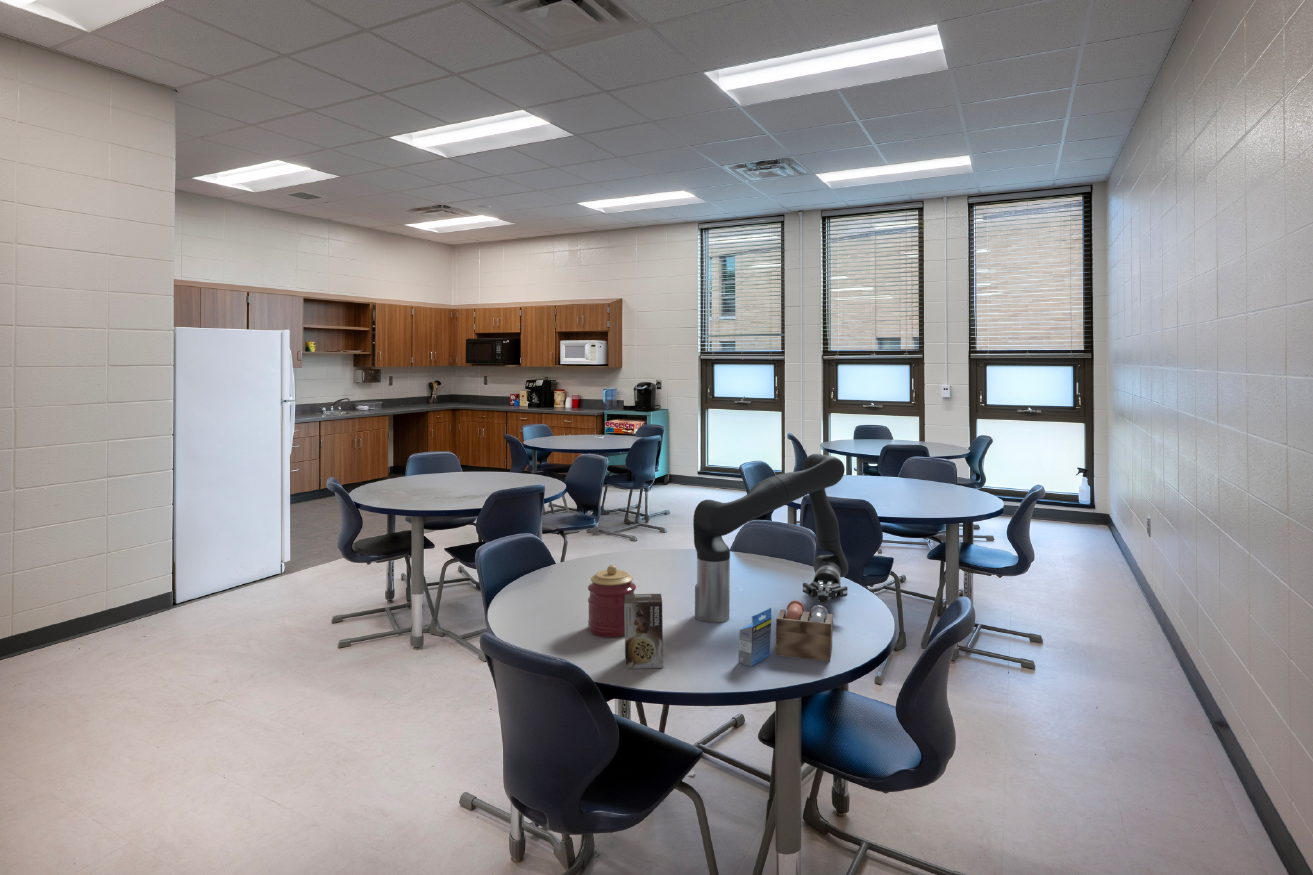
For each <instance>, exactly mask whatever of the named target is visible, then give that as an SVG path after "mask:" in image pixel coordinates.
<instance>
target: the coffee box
mask: <svg viewBox="0 0 1313 875" xmlns="http://www.w3.org/2000/svg"><path fill="white" fill-rule="evenodd" d="M624 618H625V636H624V663H625V664H624V669H625V670H627V669H628V670H630V669H632V670H633V669H657V668H658V669H663V668H664V641H663V638H664V637H663V632H664V631H663V622H664V620H663V598H662V593H634V594H626V595H625V597H624Z"/></svg>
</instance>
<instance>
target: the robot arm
mask: <svg viewBox="0 0 1313 875" xmlns="http://www.w3.org/2000/svg"><path fill="white" fill-rule="evenodd" d="M845 469H846V468H845V465H844V463H843V461H842V460H841V459H840V458H838V457H836V456H833V455H829V454H828V455H827V454H823V453H822V454H820V453H812V454H810V455H808V456H807V457H806V459H805V461H804V463H803V470H799V471H791V472H785V473H779V474H776V475H772V476H770V477H767V478H765V479H763V480H760V481H758V482H757V483H756V484H754V485H753V486H752V487H751V489H749V491H748V492H747V494H746V495H744V496H742V497H740V498H737V499H735V500H732V501H728V502H722V501H717V500H714V499H704V500H702V501H700V502H699V503H698V504H697V506H696V507H695V510H694V513H693V518H692V519H693V523H692V524H693V527H692V528H693V543H694V544H693V545H694V548H695V551H696V584H695V585H694V619H695V620H699V621H701V622H706V623H712V624H713V623H723V622H725V621H728V620H729V619H730V610H731V609H730V594H731V593H730V592H731V590H730V587H731V585H730V584H731V581H730V580H731V578H730V576H731V549H730V548H729V546H728V545H727V544H726V542H725V541H724V539H723V536H726V535H729V534H730V533H732V532H734V531H736V530H737V529H739V528H741V527H743V526H744V525H745V524H747V523H748V522H750V521H753V520H755V519H757V518H760V517H762V516H764V515H766V514H768V513H770V512H773V511H775V510H778V509H780V508H782V507H785V506H786V505H788V504H790V503H792V502H795V501H796V500H799V499H801V498H803V497H805V496H807V495H808V496H809V500H810V504H811V508H812V512H813V516H814V522H815V524H814V525H815V532H816V533H815V534H816V544H817V547H818V549H820V550H822V551H826V552H831V553H832V554H822V555H821V554H820V555H818V556H816V557H815V558H814V561H813V570H814V573H815V575H814V577H813V580H812V581H811V582H810V583H806V582H802V593H803V594H805V595H808V596H810V597H812V598H813V599H815V598H817V601H819V603H826V602H829V600H837V599H840V598H841V599H842V598H844V597H847V596H848V590H849V589H848V586H841V581H842V580H841V578H845V576H847V575H848V573H849V563H848V561H847V557H846V556H845V552H844V551H843V548H842V544H841V543H842V542H841V535H840V524H839V521H838V518H837V515H836V513H835V511H834V509H833V507H832V505H831V503H830V501H829V498H828V495H827V491H826V489H827V488H830V487H833V486H835V485H837V484H838V483H839V482H840V481H841V480H842V479H843V477H844V475H845Z"/></svg>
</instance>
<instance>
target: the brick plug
mask: <svg viewBox="0 0 1313 875" xmlns="http://www.w3.org/2000/svg"><path fill="white" fill-rule="evenodd" d="M805 608H806V607H805V605H804V603H803V602H801V601H800V600H795V599H794V600H791V601H790V602H789V603H788V604H787V607H786V617H785V619H792V620H801V618H802V614H803V612H806V611H805V610H806V609H805Z"/></svg>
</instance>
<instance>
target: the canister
mask: <svg viewBox="0 0 1313 875" xmlns="http://www.w3.org/2000/svg"><path fill="white" fill-rule="evenodd" d="M633 580H634V577H633V575H631V574H629V573H628V572H627V571H625V570H621V569H618V568H617V566H615V565H614V564H613V565H611V564H610V565H609V566H607V569H603V570H601V571H598V572H596V573H595V574H593V575H592V576H591V577H590V581H591V583H589V584H588V586H587V590H588V592H589V596H588V598H587V602H588V619H587V623H588V624H587V626H588V630H589V632H590V633H591V634H592V635H594V636H598V637H601V638H618V637H619V638H620V637H625V618H624V597H625V595H626V594H635V590H636V589H637V586H636V584H635V583H634V582H633Z"/></svg>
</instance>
